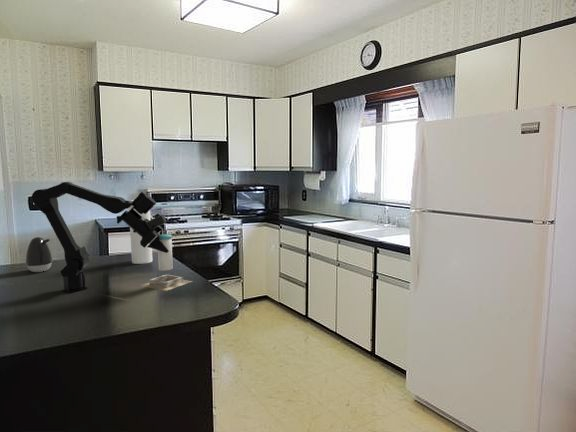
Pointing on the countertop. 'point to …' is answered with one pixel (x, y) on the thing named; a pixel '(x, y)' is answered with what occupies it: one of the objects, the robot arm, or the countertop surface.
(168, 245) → the white tall cylindrical piece
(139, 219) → the robot arm
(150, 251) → the cylinder container
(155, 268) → the countertop surface
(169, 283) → the housing
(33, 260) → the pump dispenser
